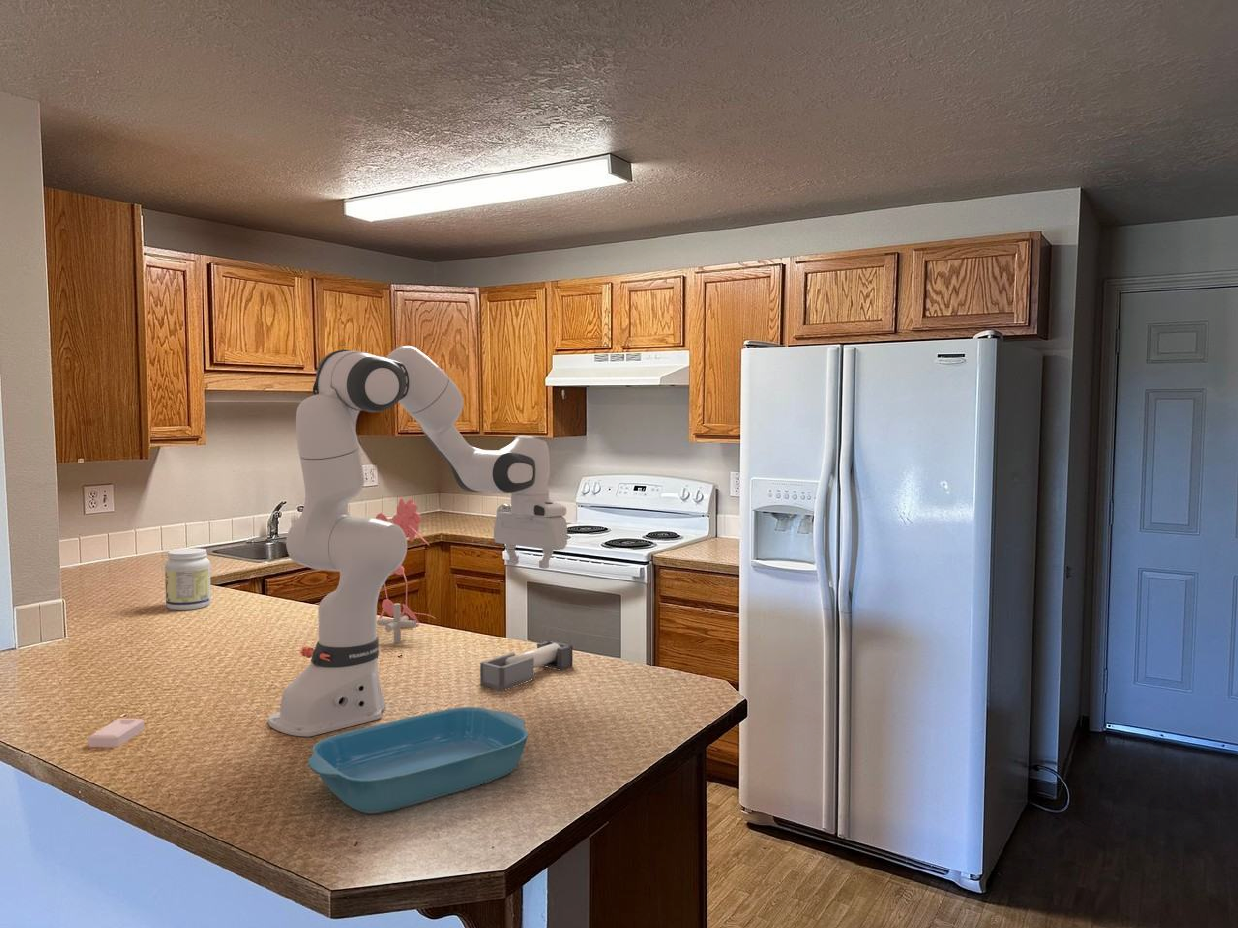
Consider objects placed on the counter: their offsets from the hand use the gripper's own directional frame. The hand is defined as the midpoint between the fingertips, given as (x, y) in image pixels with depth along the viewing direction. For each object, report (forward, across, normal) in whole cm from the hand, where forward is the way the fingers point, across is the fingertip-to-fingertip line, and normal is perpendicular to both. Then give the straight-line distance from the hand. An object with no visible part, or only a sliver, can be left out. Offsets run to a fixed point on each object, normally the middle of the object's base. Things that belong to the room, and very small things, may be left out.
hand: (528, 565), depth 201 cm
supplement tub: (+24, -123, -17) cm, 127 cm away
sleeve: (+25, +3, -9) cm, 26 cm away
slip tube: (+23, +3, 0) cm, 23 cm away
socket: (+24, +3, +7) cm, 25 cm away
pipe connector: (+24, -42, -4) cm, 49 cm away
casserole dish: (+27, +27, -53) cm, 65 cm away
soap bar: (+27, -31, -76) cm, 87 cm away
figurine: (+24, -58, +13) cm, 64 cm away
